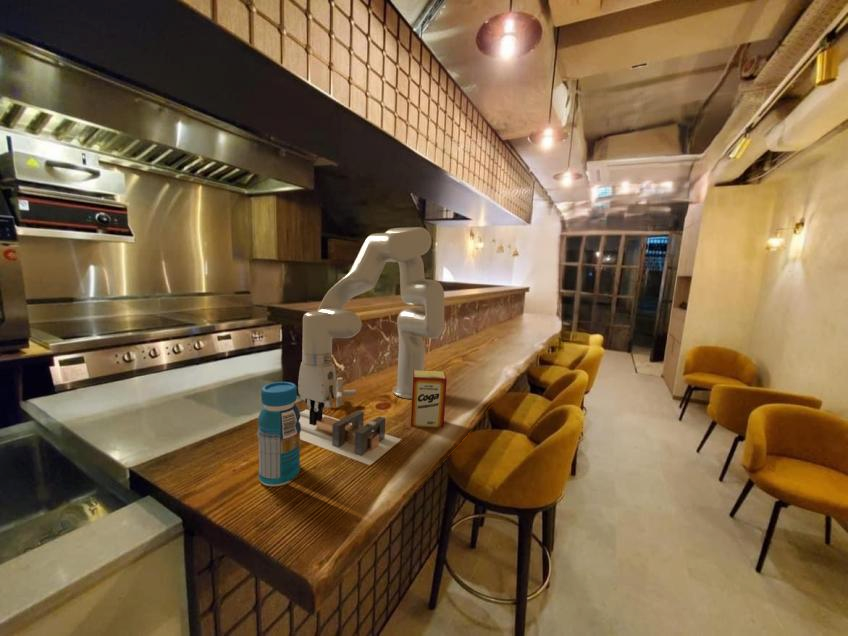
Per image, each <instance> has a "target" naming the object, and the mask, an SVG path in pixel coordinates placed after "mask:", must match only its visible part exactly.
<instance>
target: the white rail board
mask: <svg viewBox="0 0 848 636" xmlns="http://www.w3.org/2000/svg"><path fill="white" fill-rule="evenodd" d="M299 412H300V419H299V422H300V424H301V432H300V441H304V442H306V443H309V444H312V445H314V446H316V447H320V448H321V449H325V450H327V451H330V452H333V453H336V454H338V455H341V456H344V457H347V458H348V459H352V460H353V461H354V460H355V461H357V462H360V463H363V464H365V465H368V466H371V465H372V464H374V463H375V462H376V461H377V460H379V459H380V458H381V457H382V456H384V454H386V453H387V452H389V451H390V450H391V449H392V448H393V447H394V446H395V445H397V444H398V443H400V442H401V440H402V438H398V437H397V436H392V435H390V434H386V433H385V438H384V439H383V440H382V441H380V442H379V446H378V447H376V448H375V449H374V450H372V451H369V450H367V452H366V453H365V454H363V455H362V456H360V455H357V454H355V445H352V444H349V443H347V442H345V444H343V445H342V446H340V447H339V448H338V447H335V446H332V436H329V435H326V434H324V433H321V432H318V431H317V425H315V426H314V425H311V424H309V416H310V410H308V408H306V409H304V410H302V411H299ZM325 416H326V417H329V418H332V419H335V420H338V421H339V420H340V419H338V418H335V417H332V416H328V415H325V414H323V413H322V418H323V417H325ZM350 424H351V425H352V423H350Z"/></svg>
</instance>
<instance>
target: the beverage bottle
mask: <svg viewBox="0 0 848 636" xmlns="http://www.w3.org/2000/svg"><path fill="white" fill-rule="evenodd" d="M297 390H298V387H297V385H296V384H295V383H293V382H290V381H289V382H288V381H278V382H277V381H275V382H272V383H271V382H270V383H268V384H265V385H264V386H262V387H261V390H260V391H261V393H260V394H261V395H260V397H261V403H262V405H263V407H262V409H261V410H260V412H259V415H258V417H257V424H258V425H259V426H258V428H257V433H256V435H257V439H258V480H259V482H260V483H261V484H262V485H264V486H267V487H281V486H285V485H287V484H290V483H291V482H292V479H294V478H295V477H296V476H297V475H298V474H299V473H300V471H301V464H300V463H301V462H300V457H301V455H300V453H301V440H300V432H301V424H300V422H299V419H300V412H301V411H300V409H299V408H298V406H297V405H296V404H295V403H296V402H297V397H298V396H297V395H298V393H297V392H298V391H297Z"/></svg>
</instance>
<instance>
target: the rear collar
mask: <svg viewBox="0 0 848 636" xmlns="http://www.w3.org/2000/svg"><path fill="white" fill-rule="evenodd" d="M364 417H365V411H361V410H359V409H358V410H356V411H353V412H352V413H350V414H349V415H346V416H345V417H342V418H341V419H339V421H337V422H336V423H334V424H333V426H332V446H335V447H338V448H339V447H340V446H342V445H343V444H345V426H347V425H348V424H350V423H352V425H354V426H357V427H360V428H362V427H363V426H364Z"/></svg>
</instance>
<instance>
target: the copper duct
mask: <svg viewBox="0 0 848 636" xmlns="http://www.w3.org/2000/svg"><path fill="white" fill-rule="evenodd" d="M326 416H327V415H326ZM326 416H325V417H323V418H321V419H319V420H317V431H318V432H321V433H324V434H326V435H329V436H332V426H333V424H334V423H336V422H337V421H338V420H335V419H332V418H333V417H332V418H329V417H330V416H329V417H326ZM359 429H360V427H357V426H354V425H351V424H348V425H347V426H345V442H347V443H349V444H352V445H355V431H357V430H359ZM378 446H379V433H376V432H373V431H371V432H370V433H368V449H367V450H369V451H372V450H374V449H375V448H376V447H378Z"/></svg>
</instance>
